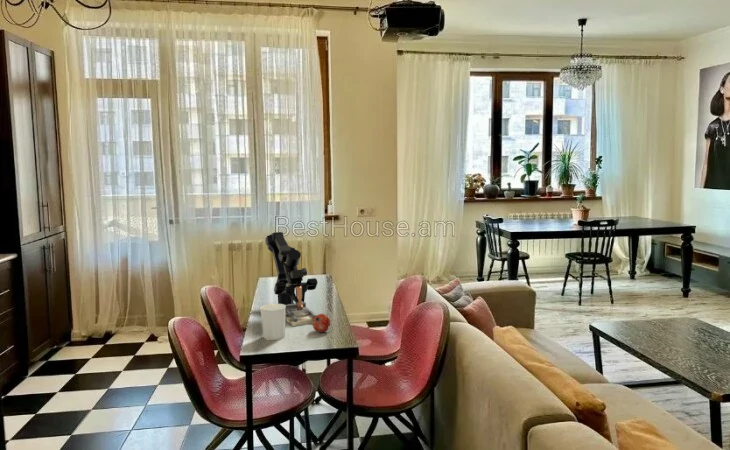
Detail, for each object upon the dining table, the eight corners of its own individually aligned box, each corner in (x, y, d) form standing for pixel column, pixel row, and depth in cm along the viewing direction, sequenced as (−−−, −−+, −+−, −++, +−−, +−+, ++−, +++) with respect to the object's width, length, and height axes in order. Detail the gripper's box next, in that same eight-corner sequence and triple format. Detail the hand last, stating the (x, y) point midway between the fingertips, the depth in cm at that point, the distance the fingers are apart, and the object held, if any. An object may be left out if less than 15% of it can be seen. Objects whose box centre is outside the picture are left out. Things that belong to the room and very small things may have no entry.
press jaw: (291, 314, 223) (289, 286, 221) (306, 312, 225) (304, 284, 224) (293, 317, 219) (292, 288, 218) (308, 314, 222) (307, 286, 220)
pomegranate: (318, 333, 208) (303, 323, 201) (327, 317, 210) (312, 307, 204) (330, 339, 203) (315, 329, 196) (339, 322, 205) (325, 312, 198)
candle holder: (265, 342, 192) (264, 311, 191) (258, 335, 201) (256, 305, 199) (290, 338, 197) (289, 307, 195) (282, 331, 205) (281, 302, 204)
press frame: (281, 315, 229) (280, 305, 228) (307, 311, 233) (306, 301, 233) (292, 326, 212) (291, 315, 211) (319, 321, 216) (319, 311, 216)
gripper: (274, 264, 220) (281, 295, 211) (315, 260, 227) (324, 289, 218) (270, 279, 228) (278, 309, 219) (310, 274, 235) (319, 303, 226)
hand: (300, 302), depth 220 cm, fingers closed on press jaw, 3 cm apart
